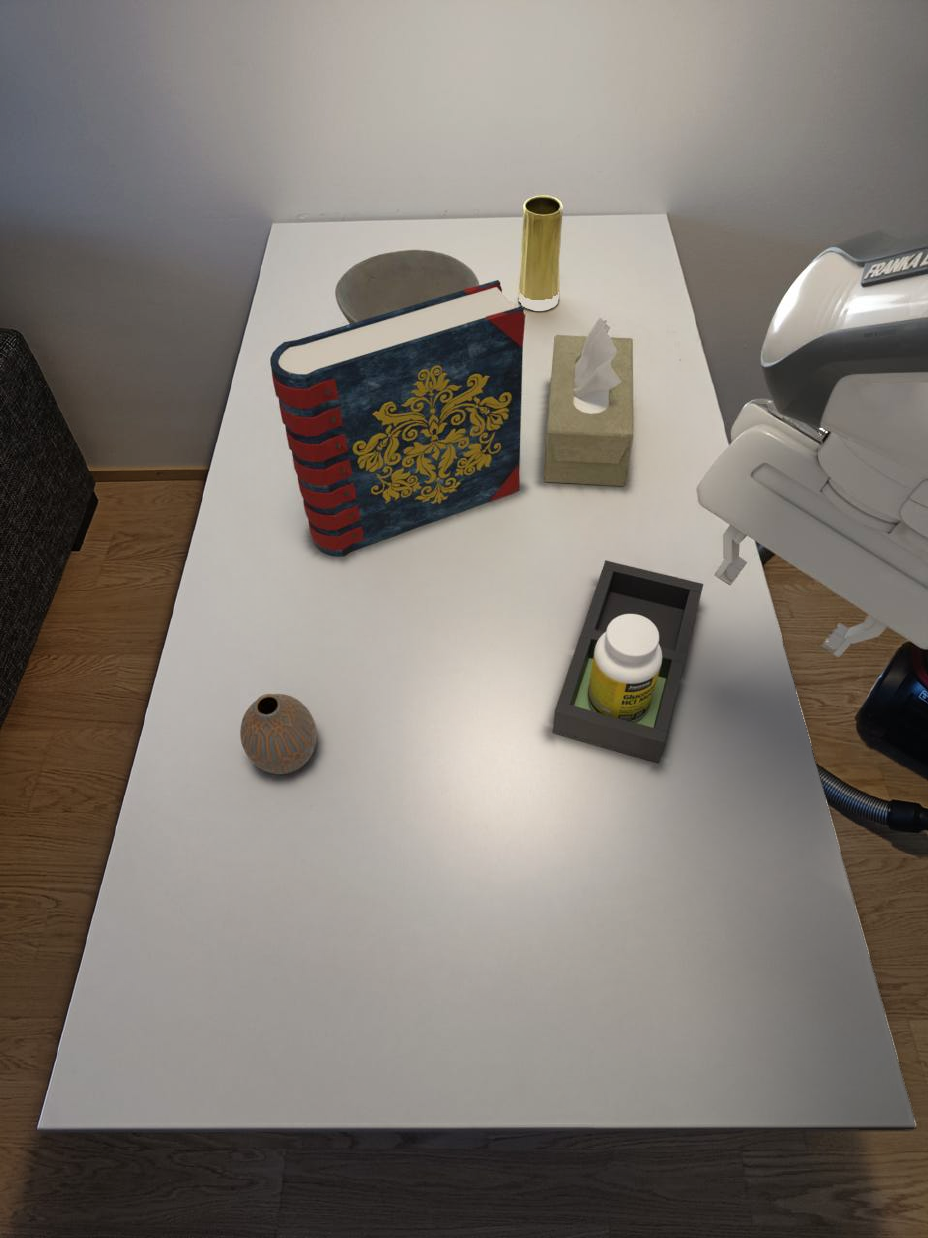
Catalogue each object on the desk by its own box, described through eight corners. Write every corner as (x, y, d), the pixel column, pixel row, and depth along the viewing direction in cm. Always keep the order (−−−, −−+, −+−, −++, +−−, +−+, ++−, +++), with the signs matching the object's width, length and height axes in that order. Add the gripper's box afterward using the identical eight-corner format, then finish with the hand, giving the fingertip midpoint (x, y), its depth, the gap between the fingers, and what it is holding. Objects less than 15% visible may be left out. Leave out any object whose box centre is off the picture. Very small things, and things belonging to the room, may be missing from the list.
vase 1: (334, 759, 85) (320, 713, 78) (270, 797, 83) (249, 753, 76) (300, 709, 88) (284, 660, 81) (238, 744, 86) (215, 697, 79)
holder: (658, 763, 84) (664, 742, 80) (552, 733, 86) (554, 711, 83) (696, 607, 95) (703, 583, 91) (601, 584, 97) (605, 560, 94)
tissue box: (625, 488, 105) (642, 381, 93) (543, 484, 106) (549, 376, 94) (625, 387, 117) (641, 279, 104) (551, 384, 118) (558, 276, 105)
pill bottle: (620, 738, 84) (635, 675, 76) (573, 697, 87) (582, 632, 78) (663, 701, 87) (682, 635, 78) (616, 662, 90) (630, 595, 81)
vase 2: (552, 315, 127) (558, 220, 115) (511, 307, 128) (513, 212, 117) (564, 292, 130) (571, 197, 119) (525, 284, 131) (528, 190, 120)
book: (323, 565, 100) (280, 387, 80) (303, 525, 103) (257, 345, 83) (522, 493, 105) (528, 311, 86) (496, 457, 109) (496, 275, 89)
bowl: (382, 414, 115) (374, 349, 107) (324, 338, 125) (312, 274, 117) (506, 367, 120) (506, 301, 112) (440, 298, 130) (436, 234, 122)
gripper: (743, 393, 59) (648, 550, 68) (1028, 565, 54) (887, 712, 63) (769, 376, 64) (677, 525, 72) (1034, 532, 59) (902, 673, 67)
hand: (776, 613), depth 67 cm, fingers open, 8 cm apart
